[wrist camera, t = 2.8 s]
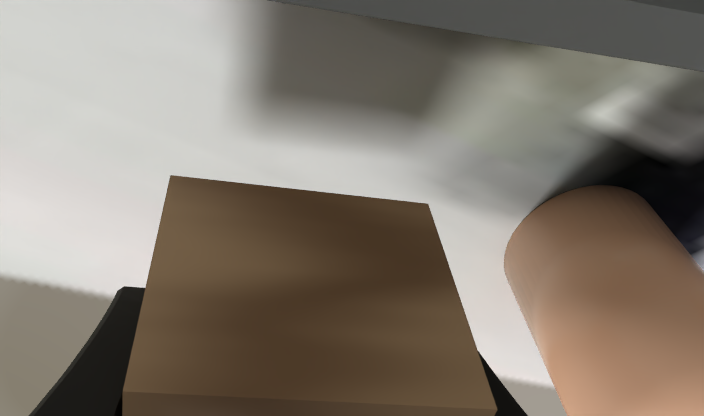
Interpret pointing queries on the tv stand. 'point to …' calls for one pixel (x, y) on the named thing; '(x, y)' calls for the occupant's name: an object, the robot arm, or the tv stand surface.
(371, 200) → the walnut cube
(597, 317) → the terracotta cylinder
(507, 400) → the robot arm
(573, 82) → the tv stand surface
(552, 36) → the tote
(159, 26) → the tv stand surface
